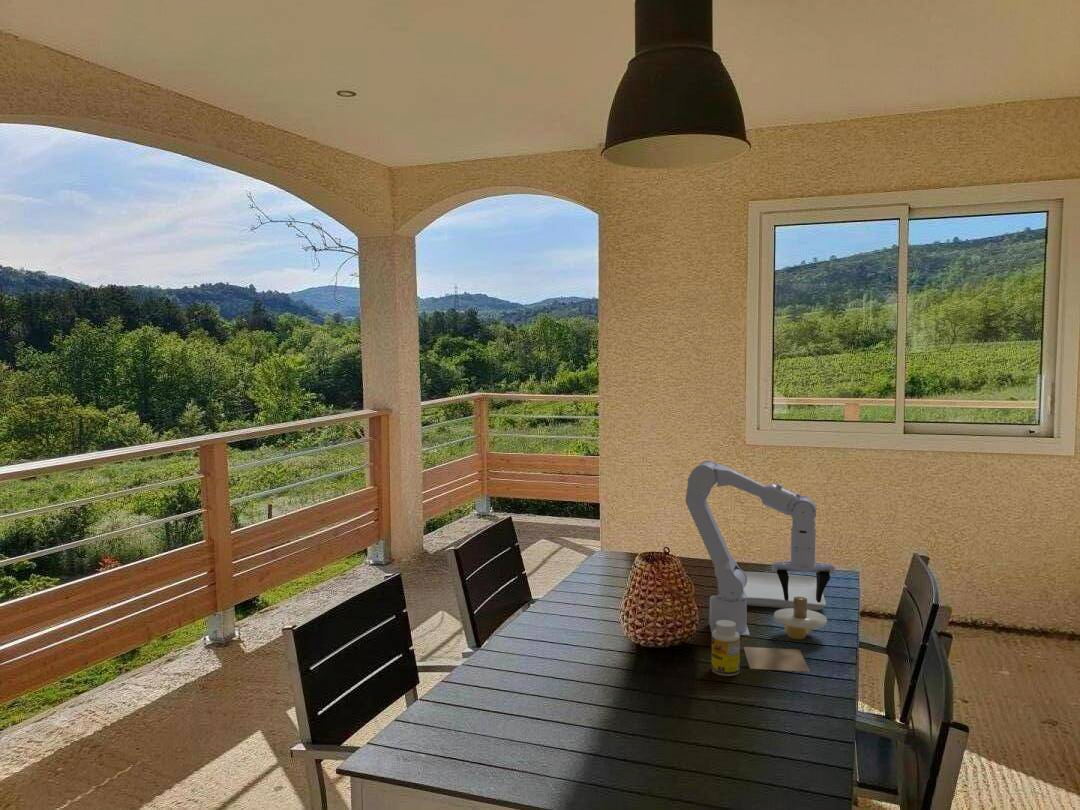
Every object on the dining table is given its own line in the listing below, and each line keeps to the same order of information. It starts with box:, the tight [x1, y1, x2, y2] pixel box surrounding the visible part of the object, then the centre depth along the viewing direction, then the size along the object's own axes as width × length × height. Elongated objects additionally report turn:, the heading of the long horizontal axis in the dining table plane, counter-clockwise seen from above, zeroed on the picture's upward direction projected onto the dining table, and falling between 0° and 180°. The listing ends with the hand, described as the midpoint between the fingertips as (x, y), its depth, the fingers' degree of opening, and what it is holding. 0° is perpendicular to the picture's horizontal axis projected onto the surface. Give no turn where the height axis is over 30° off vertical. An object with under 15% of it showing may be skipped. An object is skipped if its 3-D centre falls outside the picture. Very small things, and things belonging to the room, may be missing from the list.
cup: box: [783, 624, 815, 640], centre depth 192 cm, size 12×12×5 cm
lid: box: [773, 597, 828, 629], centre depth 191 cm, size 12×12×5 cm
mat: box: [743, 646, 811, 673], centre depth 178 cm, size 13×13×1 cm
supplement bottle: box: [711, 620, 741, 677], centre depth 171 cm, size 6×6×11 cm
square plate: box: [743, 571, 827, 611], centre depth 226 cm, size 27×27×4 cm
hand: (802, 600), depth 191 cm, fingers open, 7 cm apart
